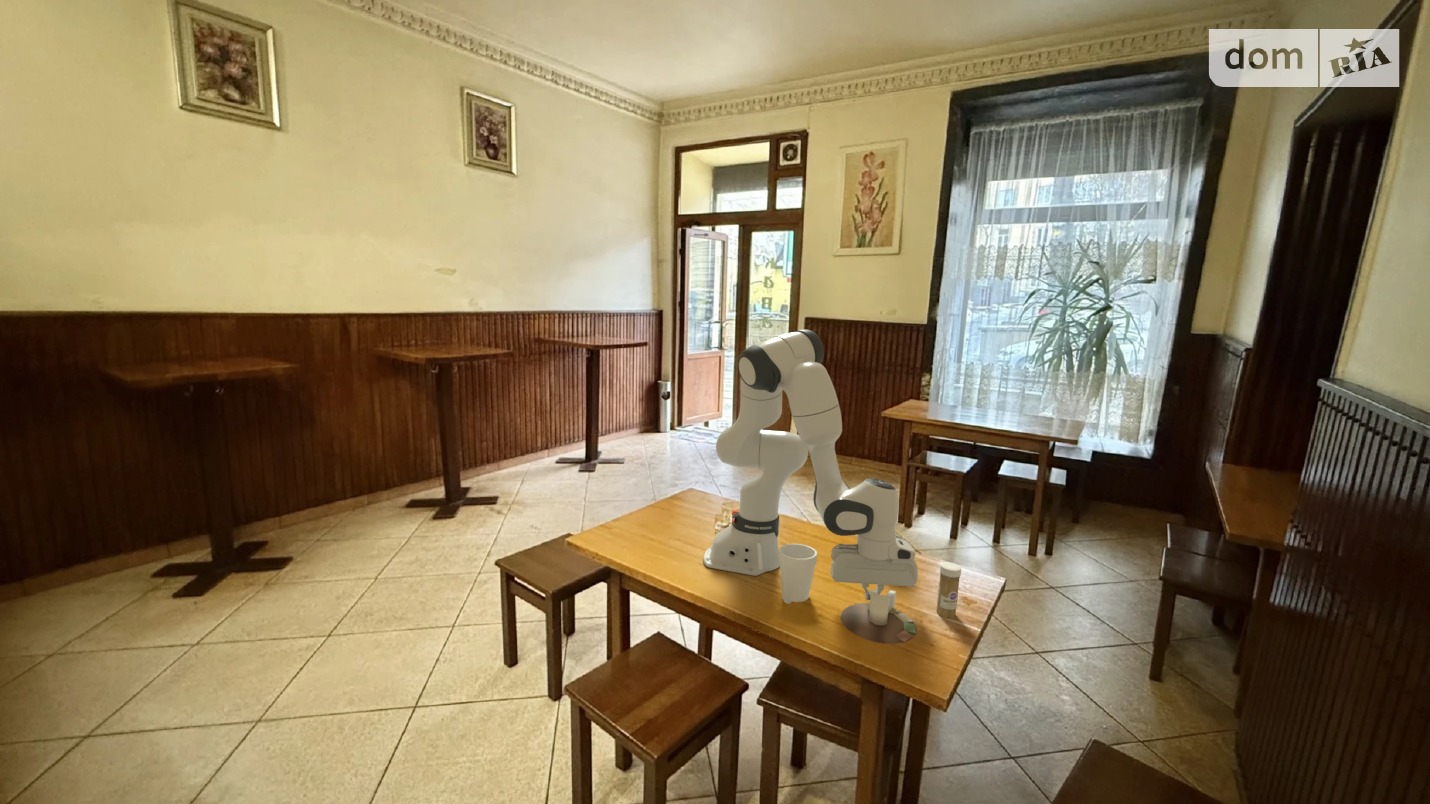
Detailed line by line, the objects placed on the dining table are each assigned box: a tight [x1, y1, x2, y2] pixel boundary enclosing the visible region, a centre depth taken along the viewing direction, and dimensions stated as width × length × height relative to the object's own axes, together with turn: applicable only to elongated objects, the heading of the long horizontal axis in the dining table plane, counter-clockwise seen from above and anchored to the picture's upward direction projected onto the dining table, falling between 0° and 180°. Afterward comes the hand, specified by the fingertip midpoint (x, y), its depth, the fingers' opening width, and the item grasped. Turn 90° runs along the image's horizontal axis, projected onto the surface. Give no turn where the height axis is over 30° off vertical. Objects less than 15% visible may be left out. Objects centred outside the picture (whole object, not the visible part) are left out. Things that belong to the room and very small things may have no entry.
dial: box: [840, 602, 918, 645], centre depth 131 cm, size 17×17×1 cm
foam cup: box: [779, 543, 818, 605], centre depth 141 cm, size 10×9×13 cm
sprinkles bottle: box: [936, 561, 962, 619], centre depth 134 cm, size 5×5×13 cm
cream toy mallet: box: [869, 589, 897, 626], centre depth 133 cm, size 11×4×6 cm, turn 142°
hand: (871, 599), depth 137 cm, fingers closed
